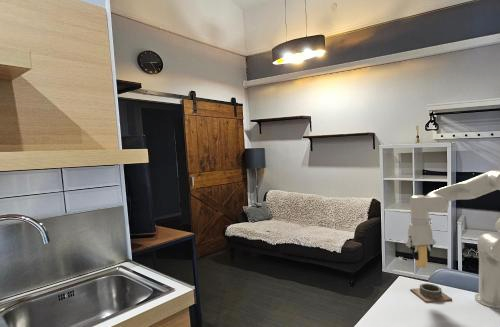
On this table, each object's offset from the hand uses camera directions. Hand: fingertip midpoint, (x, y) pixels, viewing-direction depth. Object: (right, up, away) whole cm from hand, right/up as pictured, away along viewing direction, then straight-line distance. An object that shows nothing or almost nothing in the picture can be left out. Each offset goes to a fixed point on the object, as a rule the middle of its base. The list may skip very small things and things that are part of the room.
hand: (421, 258), depth 149 cm
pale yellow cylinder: (0, -3, 0) cm, 3 cm away
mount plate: (+5, -19, +2) cm, 19 cm away
